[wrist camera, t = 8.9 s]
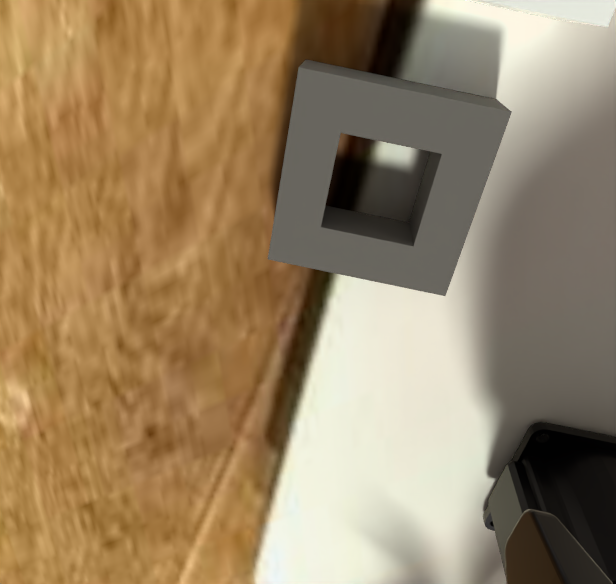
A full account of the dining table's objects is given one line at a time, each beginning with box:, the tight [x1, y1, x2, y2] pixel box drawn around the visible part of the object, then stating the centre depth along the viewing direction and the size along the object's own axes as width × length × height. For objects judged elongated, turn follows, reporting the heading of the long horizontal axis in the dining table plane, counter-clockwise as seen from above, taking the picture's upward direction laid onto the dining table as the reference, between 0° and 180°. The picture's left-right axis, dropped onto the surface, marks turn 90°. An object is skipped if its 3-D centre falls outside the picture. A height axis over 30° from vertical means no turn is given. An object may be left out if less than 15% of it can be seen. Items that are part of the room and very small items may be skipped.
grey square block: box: [268, 60, 511, 296], centre depth 17 cm, size 6×6×2 cm
